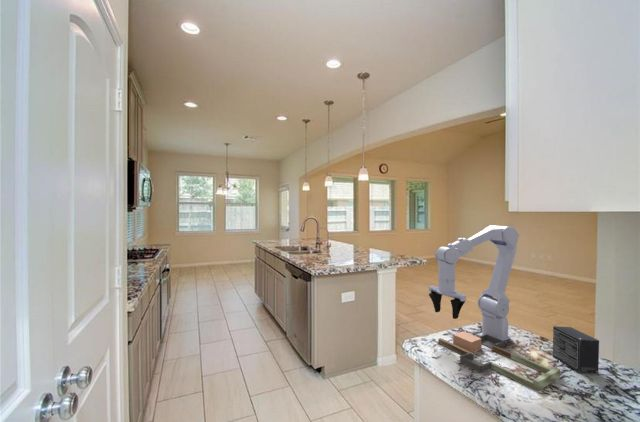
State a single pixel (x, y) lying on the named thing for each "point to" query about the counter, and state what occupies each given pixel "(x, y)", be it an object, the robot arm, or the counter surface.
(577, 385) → the counter surface
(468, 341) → the block
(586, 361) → the small box
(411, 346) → the counter surface
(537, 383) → the lane
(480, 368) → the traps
